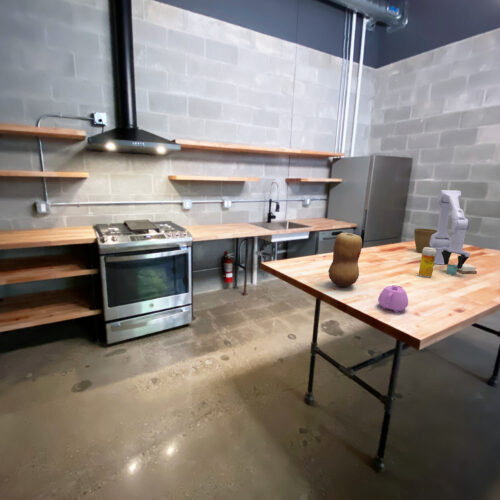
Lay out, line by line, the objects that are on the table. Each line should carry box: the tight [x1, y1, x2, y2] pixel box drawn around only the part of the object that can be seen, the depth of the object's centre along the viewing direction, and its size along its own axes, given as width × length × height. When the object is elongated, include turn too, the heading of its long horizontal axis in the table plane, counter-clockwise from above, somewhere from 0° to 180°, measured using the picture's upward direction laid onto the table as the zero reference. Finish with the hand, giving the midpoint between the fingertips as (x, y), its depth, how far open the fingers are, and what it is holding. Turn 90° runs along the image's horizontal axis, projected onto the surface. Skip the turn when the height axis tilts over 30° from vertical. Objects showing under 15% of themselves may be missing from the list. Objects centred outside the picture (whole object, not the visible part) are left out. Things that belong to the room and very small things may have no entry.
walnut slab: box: [456, 269, 478, 275], centre depth 166 cm, size 8×8×2 cm
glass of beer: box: [418, 247, 436, 278], centre depth 155 cm, size 6×6×15 cm
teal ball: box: [445, 263, 458, 276], centre depth 161 cm, size 5×5×5 cm
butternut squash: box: [327, 232, 363, 288], centre depth 137 cm, size 14×13×25 cm
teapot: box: [377, 284, 409, 314], centre depth 116 cm, size 10×15×9 cm
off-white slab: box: [453, 263, 477, 271], centre depth 165 cm, size 7×7×2 cm
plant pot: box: [413, 228, 438, 254], centre depth 207 cm, size 15×15×16 cm
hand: (452, 266), depth 161 cm, fingers open, 7 cm apart
